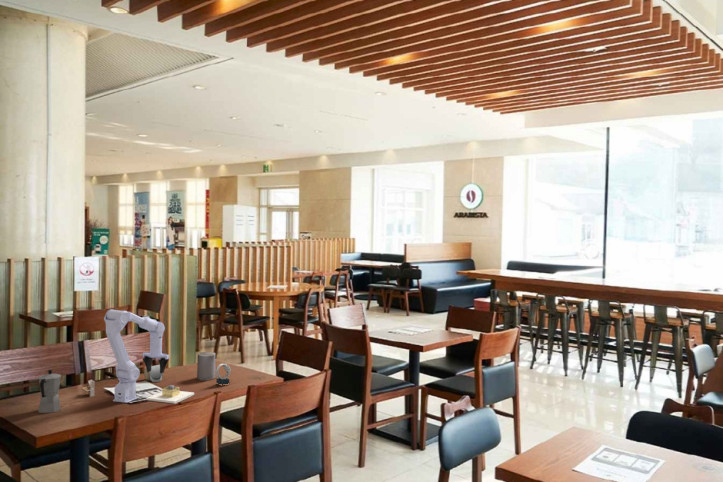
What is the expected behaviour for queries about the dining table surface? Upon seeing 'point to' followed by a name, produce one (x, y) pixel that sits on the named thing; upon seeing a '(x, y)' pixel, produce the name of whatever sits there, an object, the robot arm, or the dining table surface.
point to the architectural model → (90, 388)
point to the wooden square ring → (170, 392)
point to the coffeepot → (49, 392)
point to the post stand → (174, 400)
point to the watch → (223, 379)
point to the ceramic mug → (153, 374)
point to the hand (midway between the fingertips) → (155, 372)
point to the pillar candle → (206, 365)
